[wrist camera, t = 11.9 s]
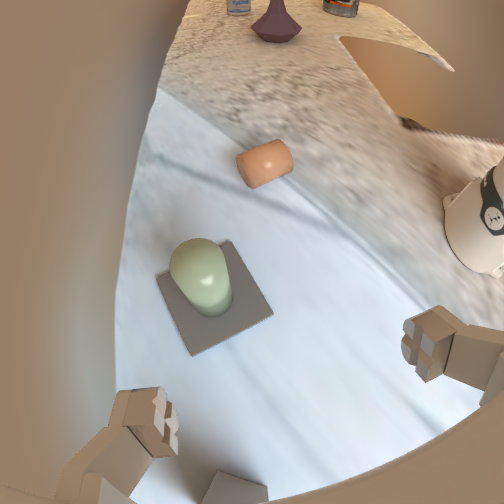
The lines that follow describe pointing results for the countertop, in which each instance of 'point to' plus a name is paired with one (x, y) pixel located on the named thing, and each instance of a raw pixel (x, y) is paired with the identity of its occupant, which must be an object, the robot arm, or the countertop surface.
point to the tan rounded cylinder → (264, 163)
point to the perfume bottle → (234, 491)
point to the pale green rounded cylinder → (202, 276)
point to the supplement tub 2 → (341, 7)
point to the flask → (276, 24)
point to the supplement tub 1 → (238, 7)
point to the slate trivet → (226, 325)
